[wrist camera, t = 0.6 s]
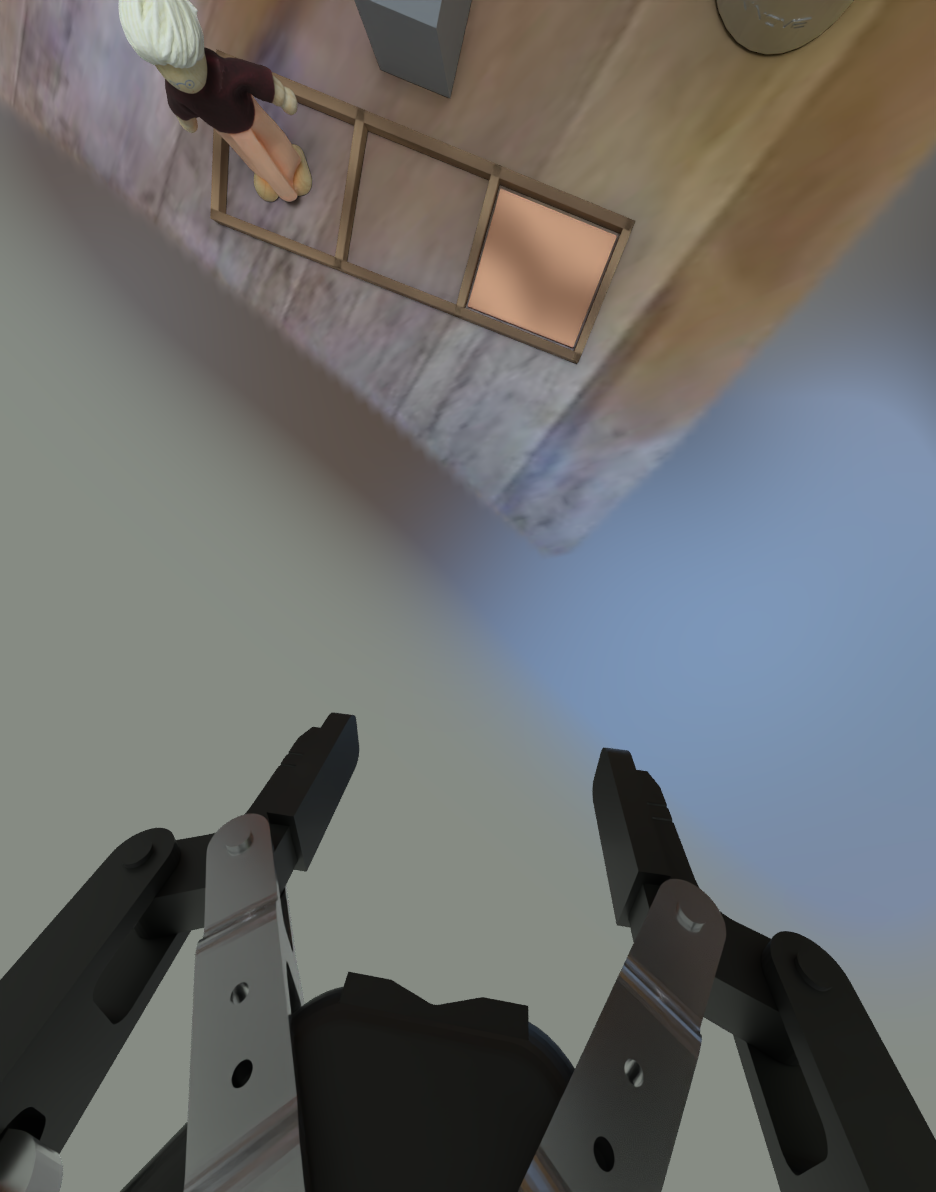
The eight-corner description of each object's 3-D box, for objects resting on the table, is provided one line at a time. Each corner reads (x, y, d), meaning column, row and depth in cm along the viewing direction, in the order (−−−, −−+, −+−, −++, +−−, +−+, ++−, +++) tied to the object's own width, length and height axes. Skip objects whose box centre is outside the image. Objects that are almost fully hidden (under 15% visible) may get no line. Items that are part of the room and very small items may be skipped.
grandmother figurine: (256, 225, 30) (95, 98, 18) (234, 161, 28) (43, -20, 17) (344, 187, 28) (228, 22, 17) (325, 117, 27) (183, -115, 15)
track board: (224, 60, 26) (216, 49, 26) (632, 226, 27) (635, 220, 27) (217, 223, 30) (210, 218, 29) (576, 364, 31) (578, 362, 30)
